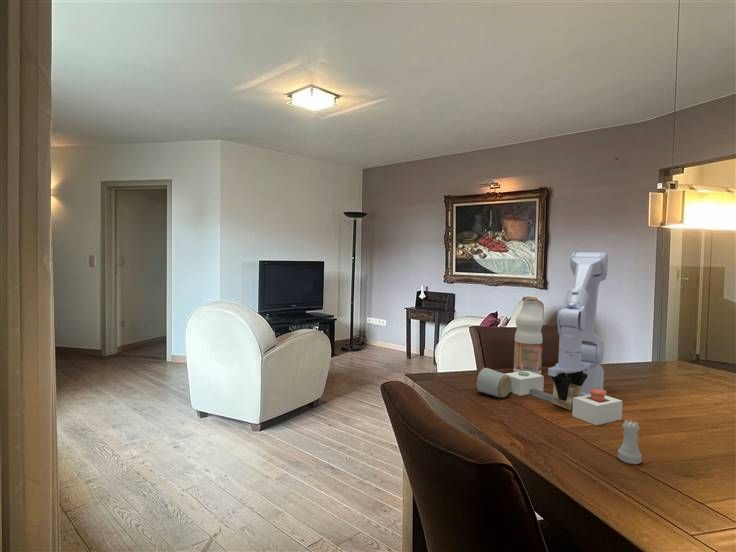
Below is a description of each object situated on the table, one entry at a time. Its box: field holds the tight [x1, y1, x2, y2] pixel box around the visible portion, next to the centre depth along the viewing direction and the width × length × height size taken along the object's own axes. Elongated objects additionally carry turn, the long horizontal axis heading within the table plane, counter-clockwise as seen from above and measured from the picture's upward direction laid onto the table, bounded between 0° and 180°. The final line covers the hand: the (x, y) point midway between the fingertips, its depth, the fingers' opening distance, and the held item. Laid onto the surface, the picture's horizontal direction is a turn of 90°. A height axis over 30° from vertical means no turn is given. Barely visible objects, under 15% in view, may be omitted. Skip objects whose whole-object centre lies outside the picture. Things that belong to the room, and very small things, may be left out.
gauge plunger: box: [589, 388, 607, 403], centre depth 115 cm, size 4×4×4 cm
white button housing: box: [571, 394, 623, 426], centre depth 115 cm, size 10×7×5 cm
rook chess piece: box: [616, 419, 643, 465], centre depth 91 cm, size 4×4×8 cm
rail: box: [529, 389, 573, 411], centre depth 127 cm, size 2×18×2 cm, turn 26°
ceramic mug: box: [476, 367, 512, 399], centre depth 134 cm, size 11×8×8 cm
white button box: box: [505, 371, 545, 396], centre depth 138 cm, size 10×7×6 cm
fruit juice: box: [513, 296, 544, 375], centre depth 157 cm, size 9×9×28 cm
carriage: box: [552, 382, 582, 411], centre depth 123 cm, size 4×6×6 cm, turn 26°
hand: (568, 398), depth 123 cm, fingers closed on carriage, 4 cm apart
